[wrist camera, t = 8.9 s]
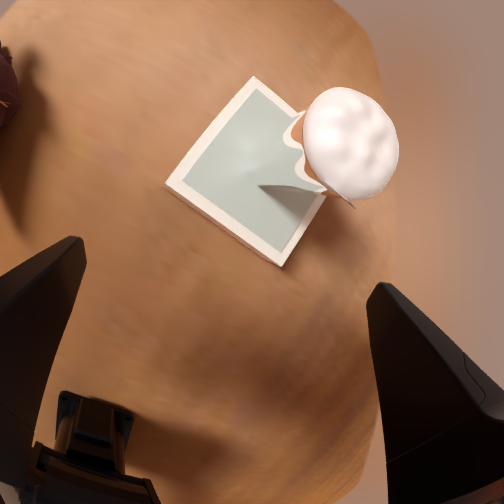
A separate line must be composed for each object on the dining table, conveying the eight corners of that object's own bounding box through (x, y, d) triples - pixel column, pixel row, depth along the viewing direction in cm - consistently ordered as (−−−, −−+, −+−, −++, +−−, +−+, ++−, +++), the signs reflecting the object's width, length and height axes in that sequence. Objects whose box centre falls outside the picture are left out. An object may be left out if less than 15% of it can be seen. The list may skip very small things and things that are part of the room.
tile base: (263, 259, 22) (282, 267, 19) (162, 186, 19) (165, 183, 16) (324, 165, 23) (348, 161, 20) (239, 91, 19) (254, 75, 16)
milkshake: (213, 181, 17) (297, 152, 7) (264, 115, 17) (371, 51, 8) (271, 225, 18) (390, 247, 9) (314, 161, 19) (439, 139, 10)
